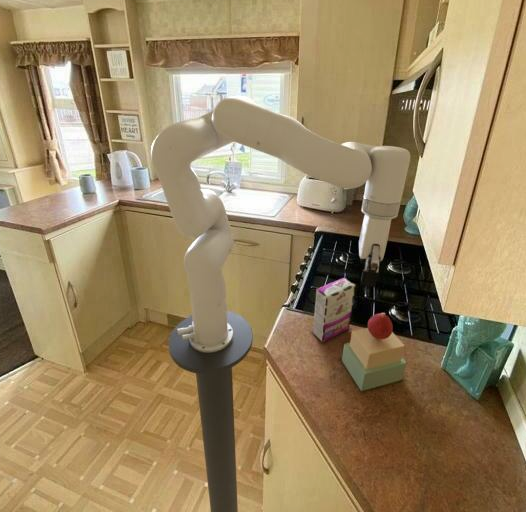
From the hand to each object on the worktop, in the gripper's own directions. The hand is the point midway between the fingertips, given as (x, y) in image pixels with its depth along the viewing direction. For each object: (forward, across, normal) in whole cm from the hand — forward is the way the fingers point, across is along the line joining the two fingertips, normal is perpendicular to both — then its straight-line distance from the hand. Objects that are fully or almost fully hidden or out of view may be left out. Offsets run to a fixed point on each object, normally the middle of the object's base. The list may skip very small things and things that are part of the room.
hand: (367, 274), depth 74 cm
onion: (+17, +2, +5) cm, 18 cm away
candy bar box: (+28, -10, -6) cm, 30 cm away
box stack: (+28, +2, +5) cm, 28 cm away
